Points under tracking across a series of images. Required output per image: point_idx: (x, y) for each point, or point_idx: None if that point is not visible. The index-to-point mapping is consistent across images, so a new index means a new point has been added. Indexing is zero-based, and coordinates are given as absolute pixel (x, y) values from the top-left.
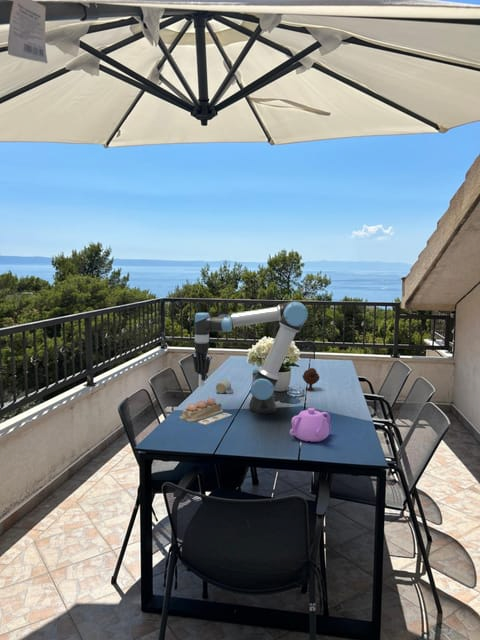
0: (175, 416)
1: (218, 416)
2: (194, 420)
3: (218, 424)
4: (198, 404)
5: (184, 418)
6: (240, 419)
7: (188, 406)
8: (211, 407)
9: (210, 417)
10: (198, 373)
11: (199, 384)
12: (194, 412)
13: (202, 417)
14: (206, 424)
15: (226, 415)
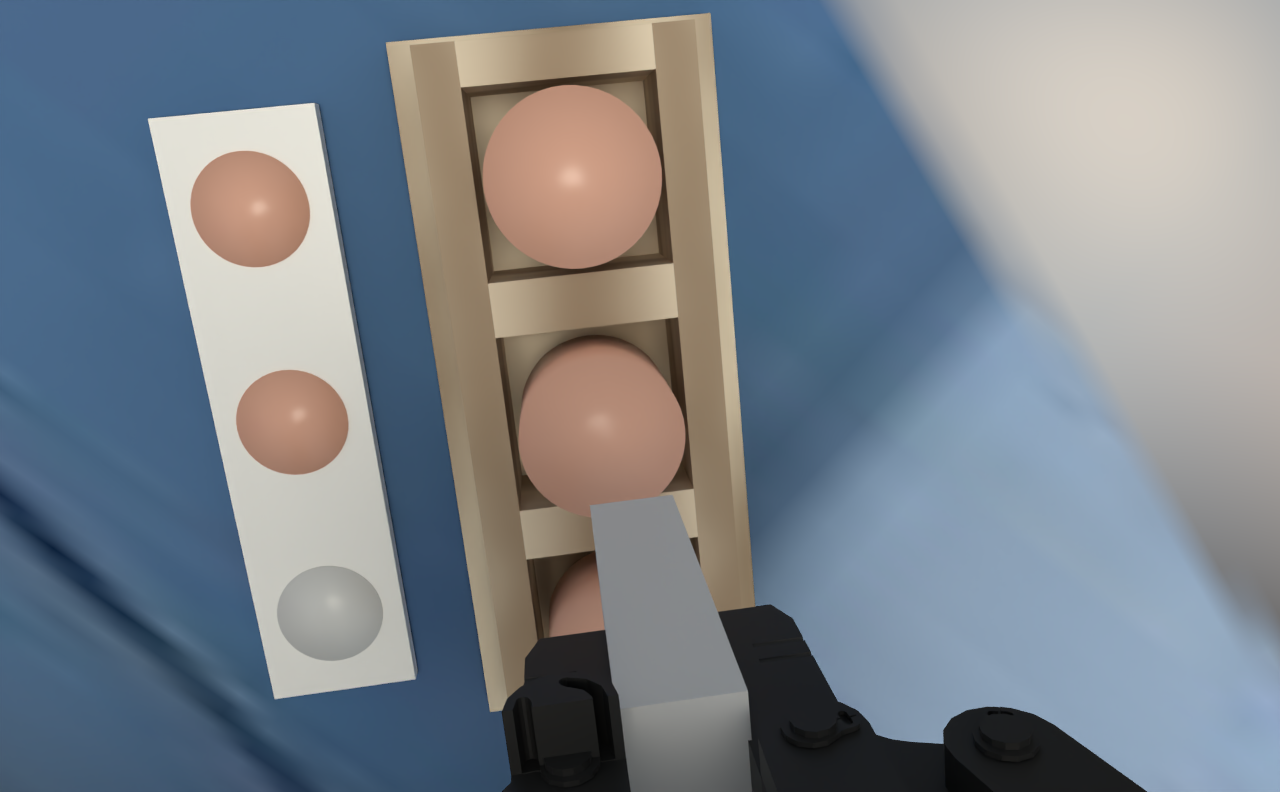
0: (815, 27)
1: (322, 503)
2: (394, 90)
3: (53, 298)
4: (595, 352)
5: (581, 25)
6: (55, 683)
7: (578, 87)
8: (485, 537)
9: (359, 382)
10: (784, 713)
11: (644, 520)
12: (420, 115)
13: (423, 276)
14: (162, 151)
15: (280, 617)
